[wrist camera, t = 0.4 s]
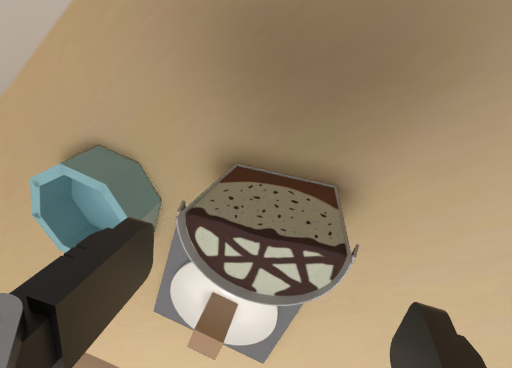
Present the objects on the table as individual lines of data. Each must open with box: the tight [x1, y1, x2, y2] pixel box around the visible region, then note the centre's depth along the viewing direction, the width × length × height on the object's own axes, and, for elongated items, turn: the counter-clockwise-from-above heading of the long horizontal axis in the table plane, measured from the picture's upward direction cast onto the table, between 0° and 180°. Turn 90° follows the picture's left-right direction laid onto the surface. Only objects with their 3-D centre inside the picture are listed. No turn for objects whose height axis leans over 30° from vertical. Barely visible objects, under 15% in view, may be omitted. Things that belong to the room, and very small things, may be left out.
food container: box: [176, 163, 359, 306], centre depth 24 cm, size 12×6×10 cm, turn 83°
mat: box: [154, 226, 303, 363], centre depth 36 cm, size 16×16×1 cm
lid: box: [170, 260, 279, 360], centre depth 33 cm, size 13×13×6 cm
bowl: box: [30, 145, 161, 253], centre depth 31 cm, size 11×11×5 cm
